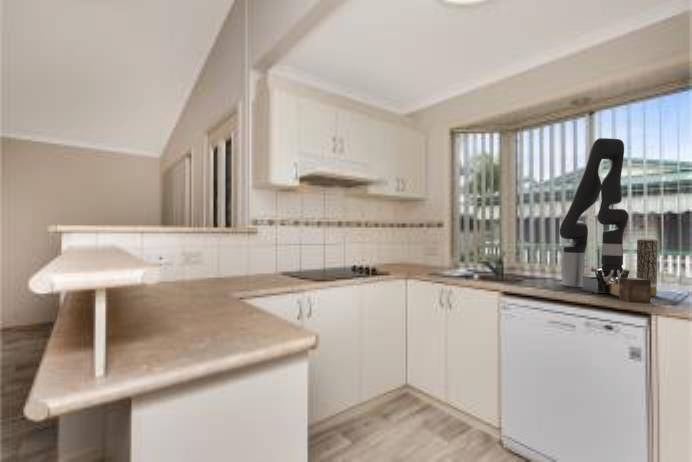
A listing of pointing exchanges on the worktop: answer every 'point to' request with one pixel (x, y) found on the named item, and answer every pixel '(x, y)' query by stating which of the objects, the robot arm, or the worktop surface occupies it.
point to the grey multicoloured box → (592, 284)
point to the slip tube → (612, 288)
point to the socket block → (634, 289)
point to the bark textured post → (647, 262)
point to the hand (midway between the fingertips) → (611, 292)
